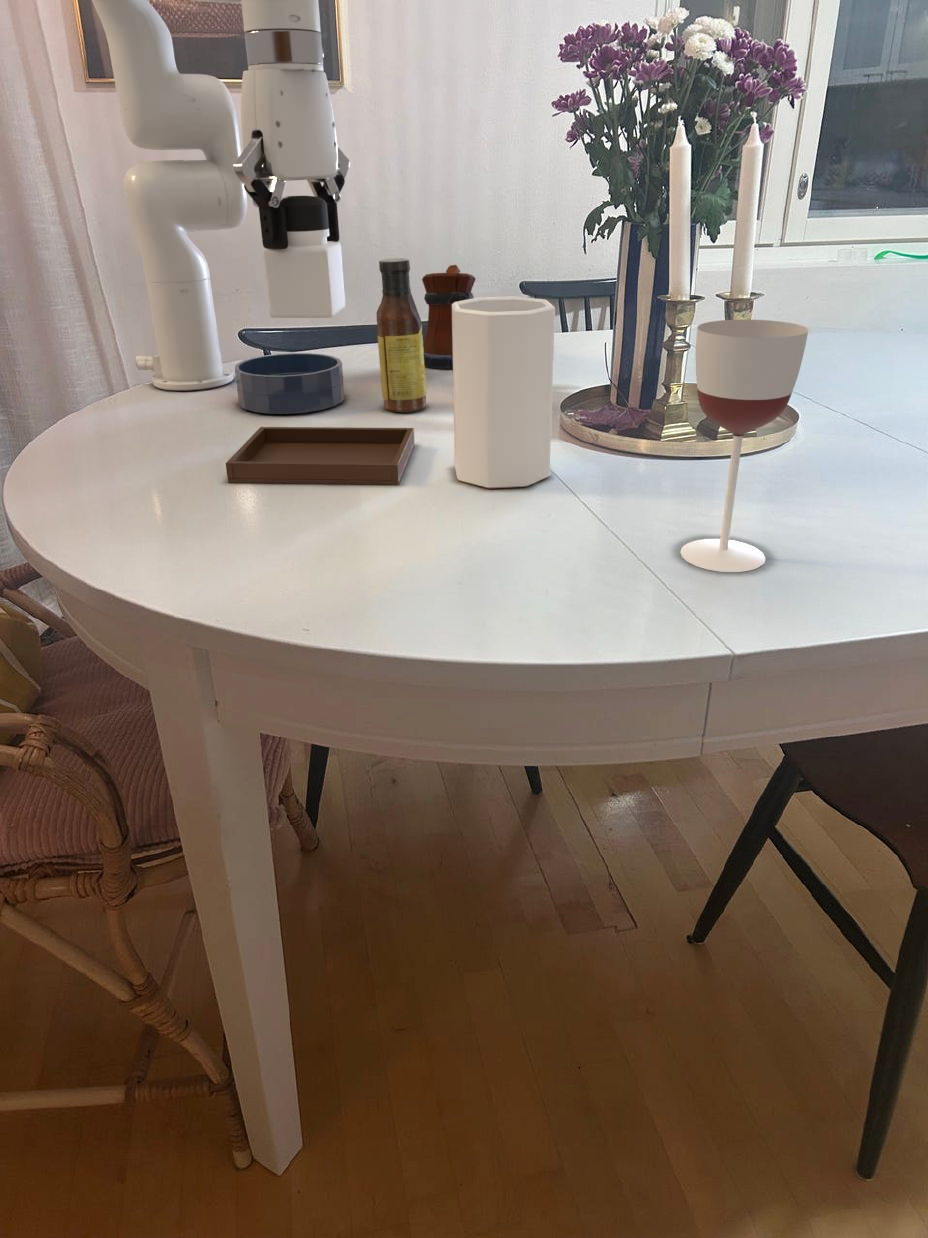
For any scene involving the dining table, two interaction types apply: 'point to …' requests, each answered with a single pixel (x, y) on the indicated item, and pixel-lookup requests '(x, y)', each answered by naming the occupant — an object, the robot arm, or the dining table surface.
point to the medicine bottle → (305, 264)
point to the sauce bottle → (400, 340)
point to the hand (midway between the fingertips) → (302, 243)
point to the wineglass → (742, 408)
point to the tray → (322, 456)
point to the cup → (502, 390)
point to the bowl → (289, 383)
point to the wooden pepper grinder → (443, 313)
